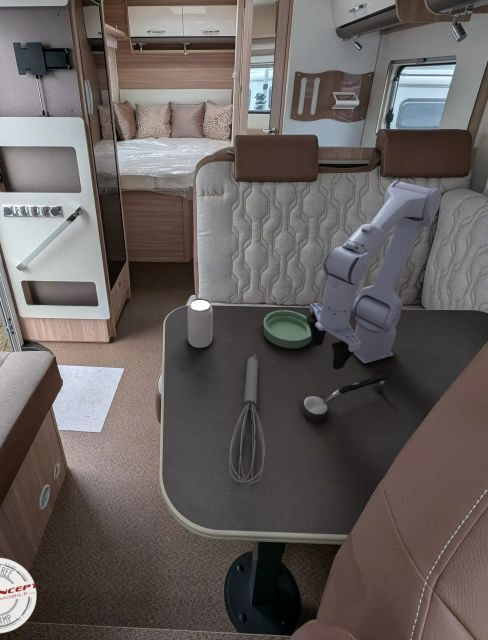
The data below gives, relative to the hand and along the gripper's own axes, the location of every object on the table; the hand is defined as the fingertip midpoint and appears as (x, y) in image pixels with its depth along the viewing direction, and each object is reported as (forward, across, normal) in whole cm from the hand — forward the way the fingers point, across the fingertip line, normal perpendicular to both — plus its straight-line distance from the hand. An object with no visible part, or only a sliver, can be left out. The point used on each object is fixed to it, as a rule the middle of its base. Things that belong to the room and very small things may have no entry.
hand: (327, 355), depth 80 cm
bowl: (+10, -20, +2) cm, 22 cm away
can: (+10, -25, -22) cm, 34 cm away
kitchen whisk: (+10, +1, -19) cm, 22 cm away
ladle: (+10, +5, +3) cm, 11 cm away
